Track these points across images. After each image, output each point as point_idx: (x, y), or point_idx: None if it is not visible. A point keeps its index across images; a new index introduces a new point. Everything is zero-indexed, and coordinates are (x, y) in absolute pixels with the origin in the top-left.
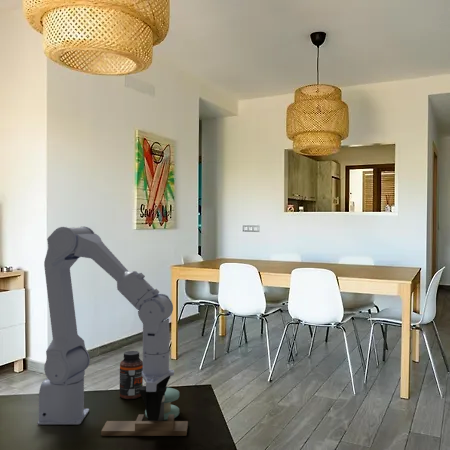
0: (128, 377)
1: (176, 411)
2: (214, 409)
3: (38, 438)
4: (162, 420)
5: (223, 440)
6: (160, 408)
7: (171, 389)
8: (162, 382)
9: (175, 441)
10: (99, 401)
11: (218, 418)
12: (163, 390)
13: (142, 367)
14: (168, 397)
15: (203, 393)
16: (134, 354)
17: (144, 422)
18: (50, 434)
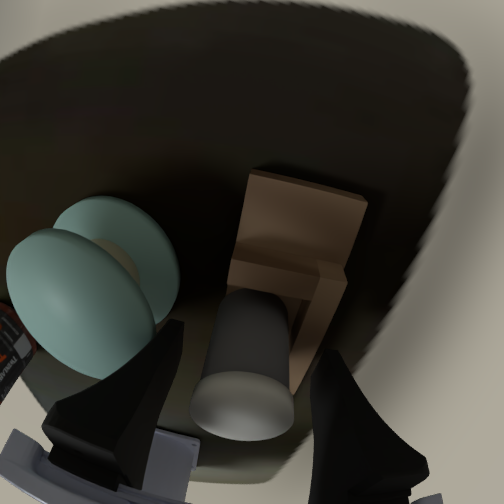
0: (4, 385)
1: (115, 215)
2: (85, 31)
3: (252, 468)
4: (276, 310)
5: (441, 53)
6: (342, 384)
7: (18, 270)
8: (138, 434)
9: (392, 247)
10: (65, 389)
11: (190, 8)
12: (421, 477)
13: None
14: (114, 305)
15: None
16: None
17: (295, 373)
18: (238, 461)
